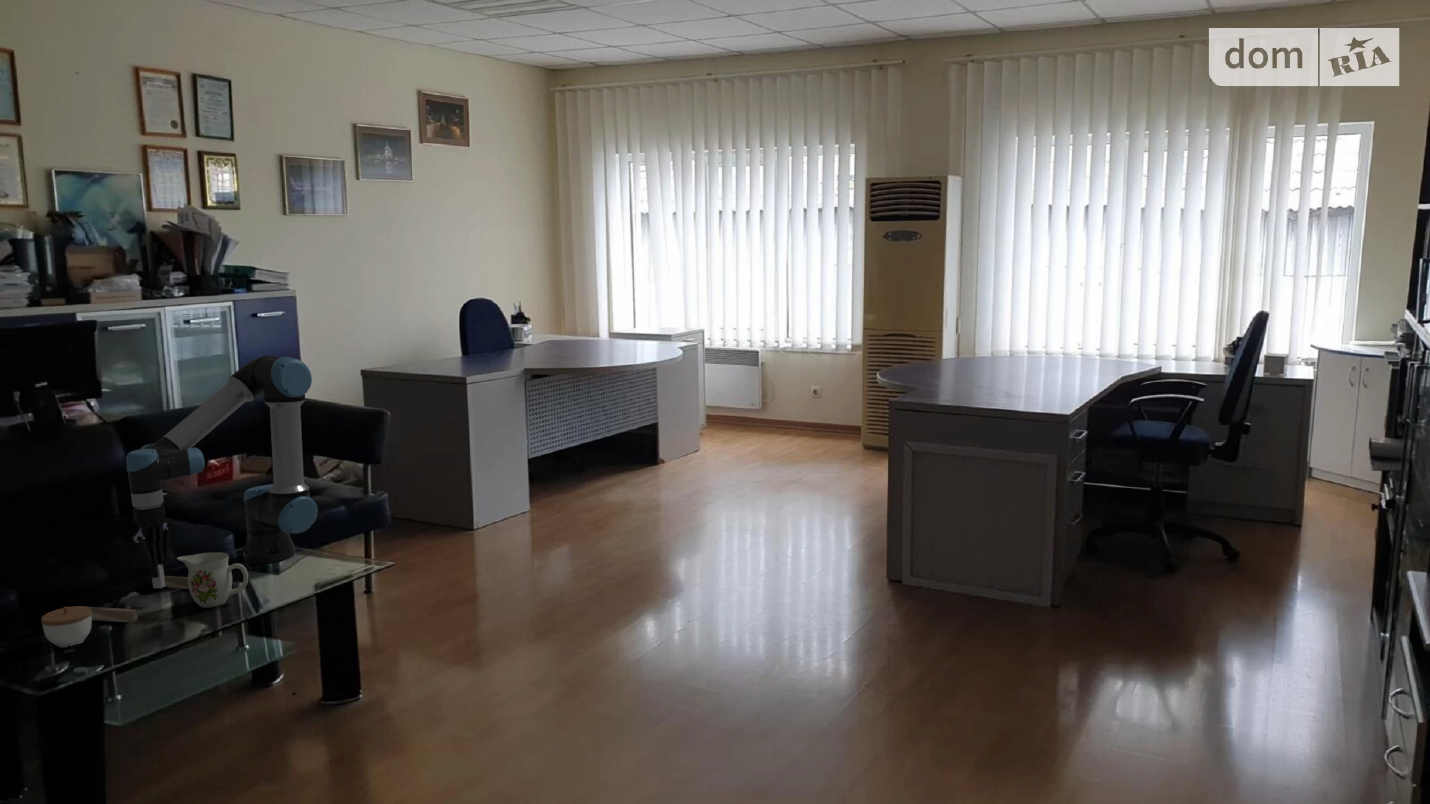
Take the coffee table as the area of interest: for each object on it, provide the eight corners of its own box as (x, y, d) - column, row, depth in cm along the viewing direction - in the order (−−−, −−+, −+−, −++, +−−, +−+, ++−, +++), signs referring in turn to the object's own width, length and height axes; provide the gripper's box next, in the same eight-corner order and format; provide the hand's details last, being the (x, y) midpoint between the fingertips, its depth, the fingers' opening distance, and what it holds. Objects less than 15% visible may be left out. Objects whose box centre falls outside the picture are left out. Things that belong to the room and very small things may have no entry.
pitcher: (244, 608, 278) (239, 560, 276) (174, 612, 276) (169, 564, 274) (256, 594, 289) (251, 547, 287) (189, 598, 287) (184, 551, 284)
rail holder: (157, 585, 298) (155, 575, 298) (202, 587, 296) (201, 577, 295) (84, 619, 272) (82, 608, 271) (133, 622, 269) (131, 611, 269)
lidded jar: (40, 654, 249) (36, 618, 248) (49, 638, 259) (44, 603, 258) (91, 646, 254) (86, 611, 252) (97, 631, 263) (93, 597, 262)
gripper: (153, 498, 285) (164, 578, 290) (118, 512, 273) (130, 595, 277) (176, 499, 284) (187, 579, 288) (142, 512, 271) (154, 596, 276)
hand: (159, 587), depth 283 cm, fingers closed
